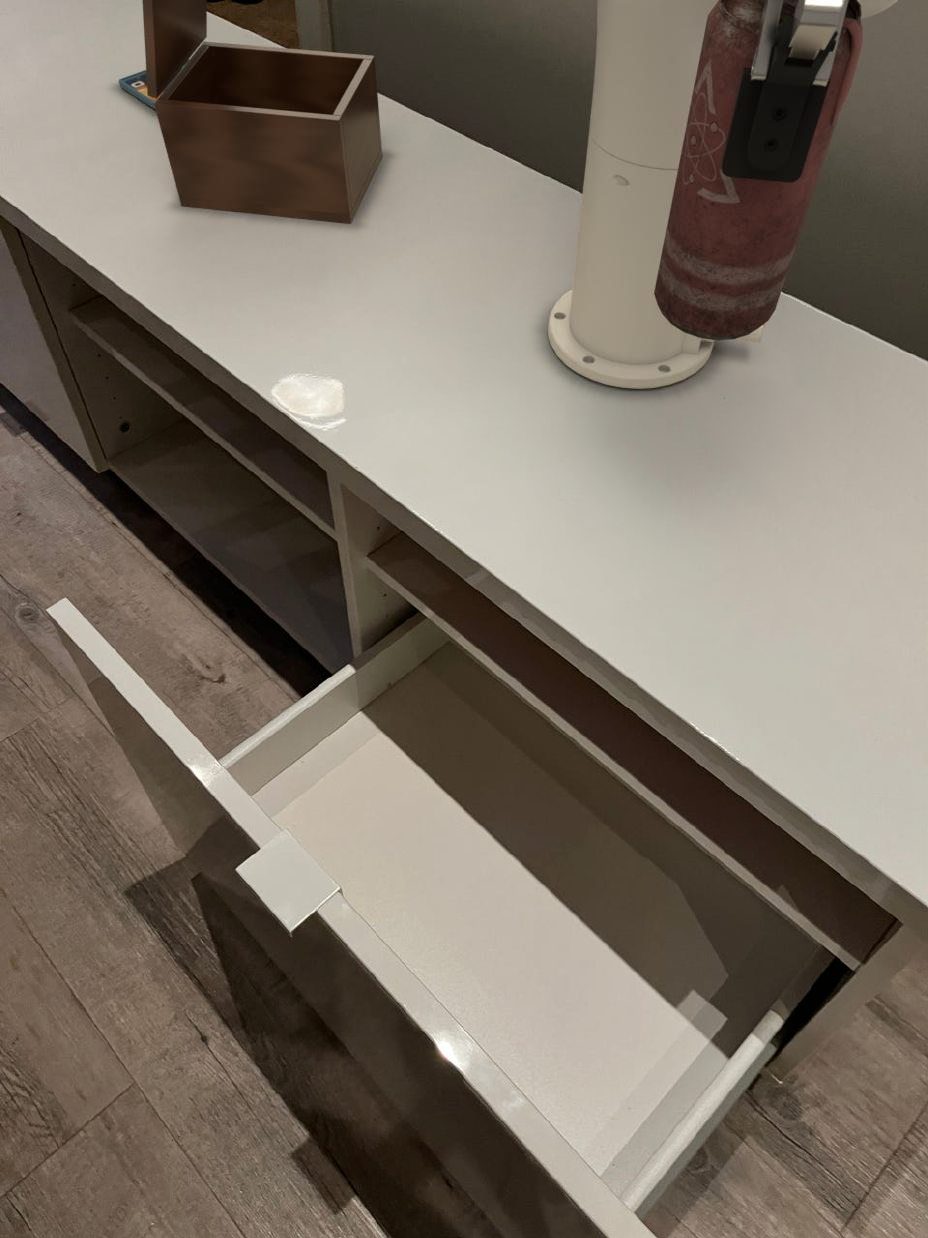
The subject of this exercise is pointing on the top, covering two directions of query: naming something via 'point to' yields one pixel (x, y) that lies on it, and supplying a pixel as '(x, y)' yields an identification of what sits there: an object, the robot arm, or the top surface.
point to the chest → (273, 130)
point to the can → (738, 188)
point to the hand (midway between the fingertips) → (760, 129)
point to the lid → (171, 38)
